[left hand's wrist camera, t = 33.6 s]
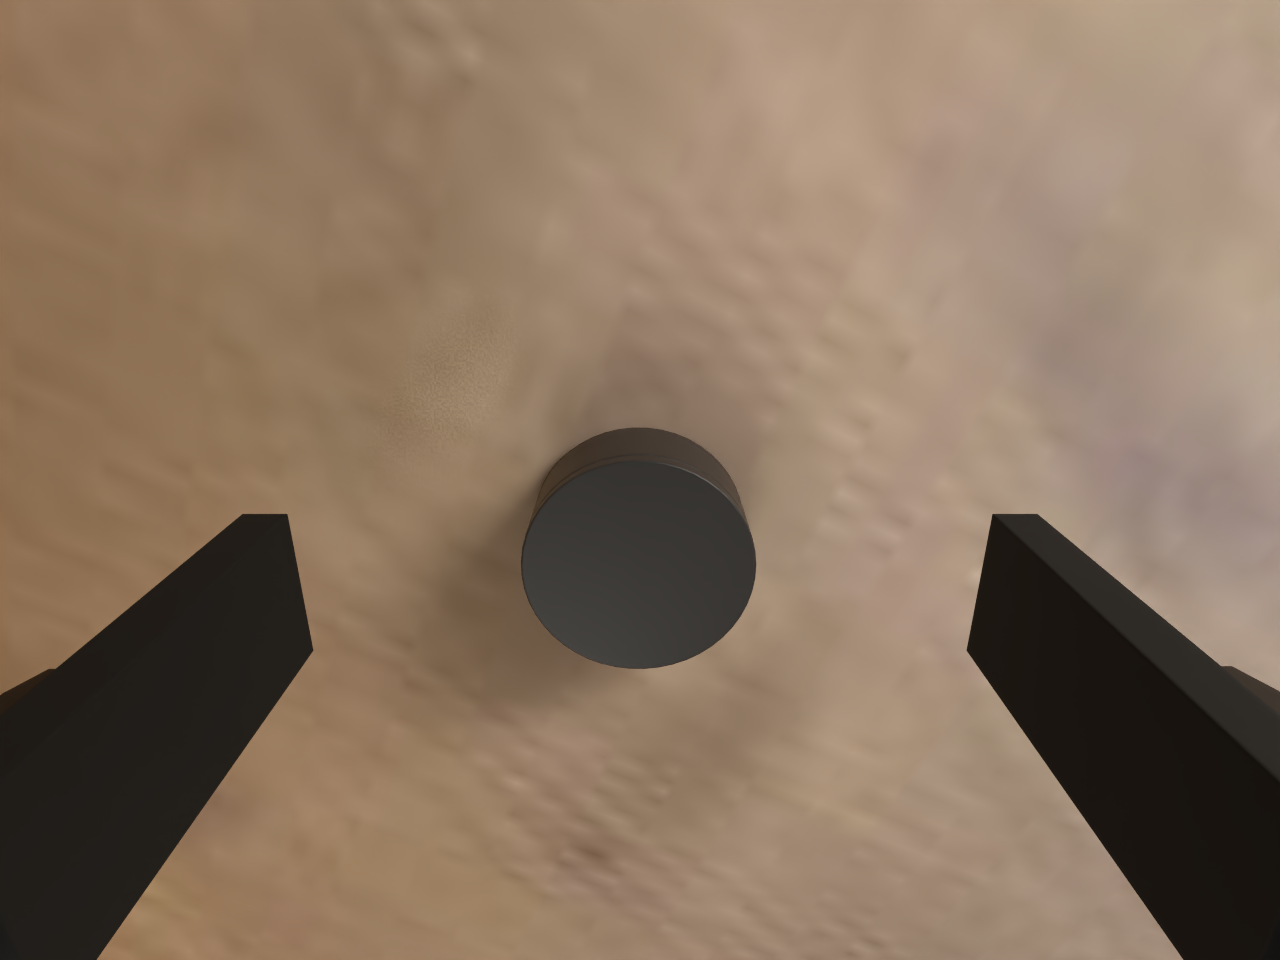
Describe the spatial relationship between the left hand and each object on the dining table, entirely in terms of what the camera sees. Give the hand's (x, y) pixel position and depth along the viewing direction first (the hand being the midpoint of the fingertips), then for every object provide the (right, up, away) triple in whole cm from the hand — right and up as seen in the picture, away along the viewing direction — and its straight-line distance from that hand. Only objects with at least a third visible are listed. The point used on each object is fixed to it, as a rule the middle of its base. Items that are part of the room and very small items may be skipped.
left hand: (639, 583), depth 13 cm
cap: (0, 0, +1) cm, 1 cm away
